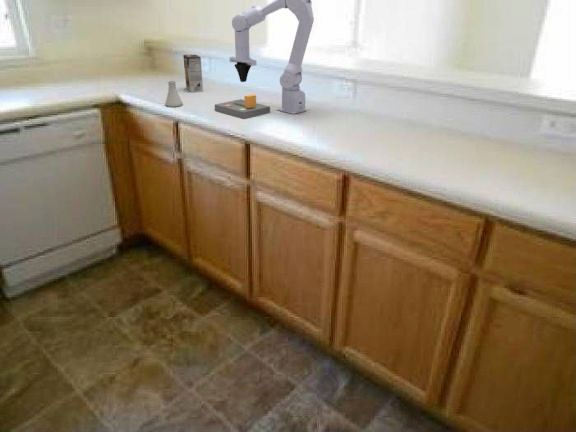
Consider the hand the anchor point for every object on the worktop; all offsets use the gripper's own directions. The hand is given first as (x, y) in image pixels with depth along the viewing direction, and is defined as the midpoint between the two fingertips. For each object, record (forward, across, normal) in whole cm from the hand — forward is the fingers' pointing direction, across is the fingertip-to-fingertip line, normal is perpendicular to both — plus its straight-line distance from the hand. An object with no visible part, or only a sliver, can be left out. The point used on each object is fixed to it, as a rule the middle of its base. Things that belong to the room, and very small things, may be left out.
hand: (243, 81), depth 188 cm
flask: (+10, +20, +22) cm, 31 cm away
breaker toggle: (+7, -13, +8) cm, 17 cm away
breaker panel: (+10, -8, +8) cm, 15 cm away
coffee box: (+10, +40, -3) cm, 41 cm away
